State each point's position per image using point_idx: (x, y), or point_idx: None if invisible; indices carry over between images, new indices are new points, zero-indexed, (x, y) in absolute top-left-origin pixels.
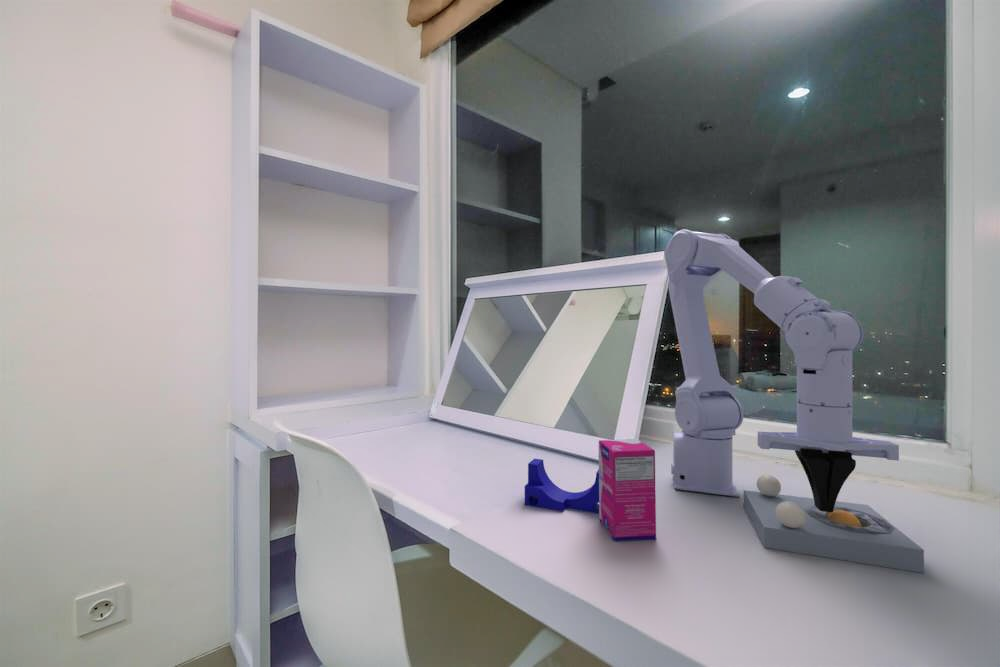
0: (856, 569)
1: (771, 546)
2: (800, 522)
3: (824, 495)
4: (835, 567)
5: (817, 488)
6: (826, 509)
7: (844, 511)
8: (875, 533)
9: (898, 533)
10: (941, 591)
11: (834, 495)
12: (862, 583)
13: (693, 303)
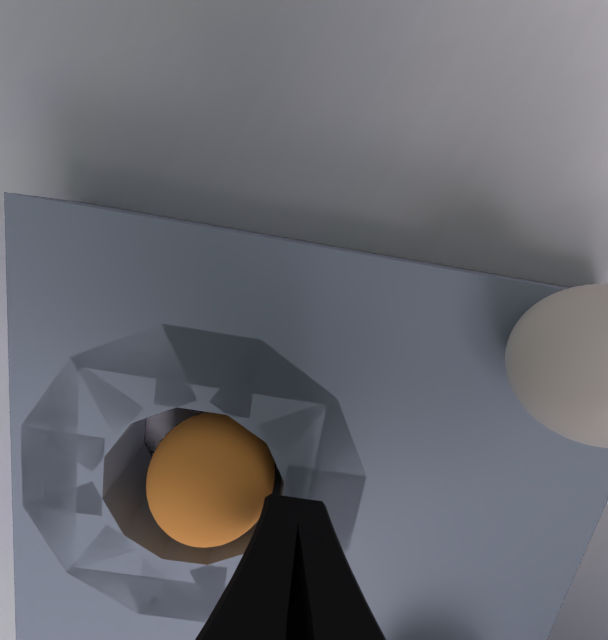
0: (325, 178)
1: None
2: (571, 288)
3: (321, 572)
4: (401, 178)
5: (377, 627)
6: (299, 504)
7: (194, 522)
8: (146, 346)
9: (32, 368)
10: (92, 58)
11: (258, 571)
12: (370, 56)
13: None
